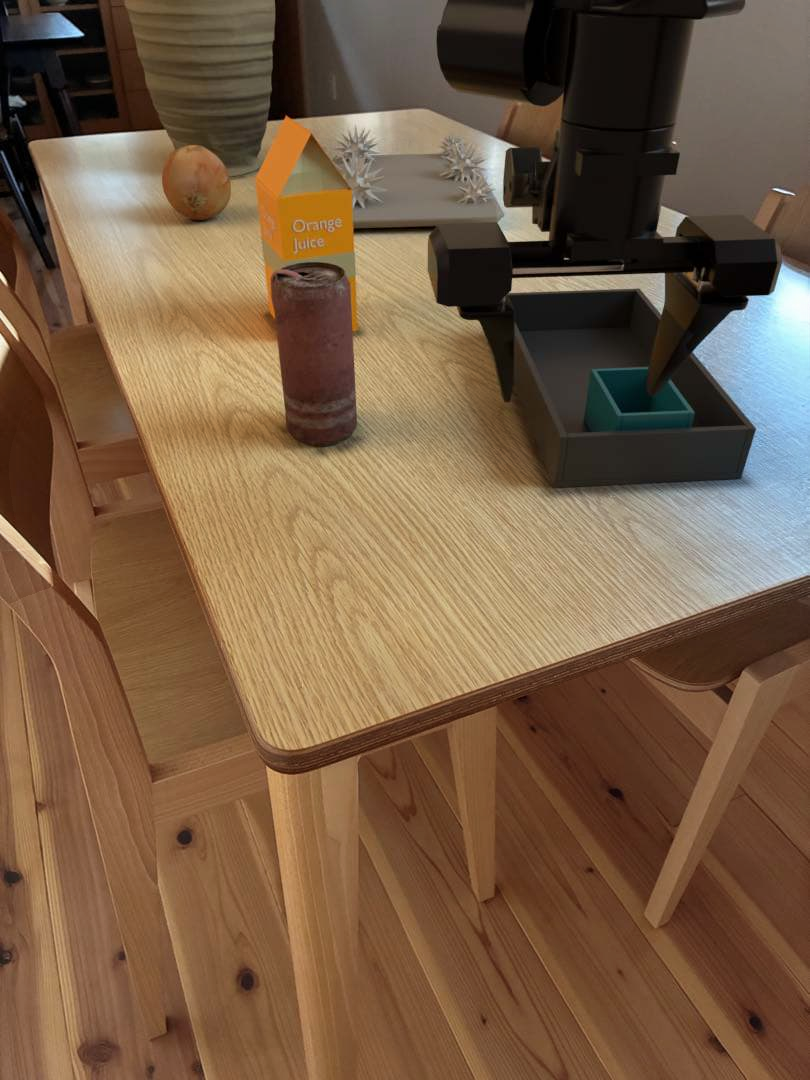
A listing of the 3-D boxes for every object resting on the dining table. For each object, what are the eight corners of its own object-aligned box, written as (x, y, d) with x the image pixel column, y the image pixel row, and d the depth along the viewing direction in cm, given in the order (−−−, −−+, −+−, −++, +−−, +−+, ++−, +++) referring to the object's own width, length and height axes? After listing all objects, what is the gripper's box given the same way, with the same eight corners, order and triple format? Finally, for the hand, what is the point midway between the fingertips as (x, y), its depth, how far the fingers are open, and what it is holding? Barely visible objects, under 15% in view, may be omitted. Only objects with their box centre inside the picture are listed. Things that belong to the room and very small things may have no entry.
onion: (231, 206, 125) (222, 135, 119) (238, 225, 117) (228, 151, 111) (167, 211, 123) (154, 140, 117) (170, 231, 115) (156, 155, 109)
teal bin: (650, 418, 71) (661, 366, 68) (681, 467, 65) (695, 412, 62) (583, 421, 71) (590, 368, 67) (608, 471, 64) (617, 415, 61)
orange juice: (290, 342, 85) (269, 135, 73) (268, 312, 92) (246, 117, 79) (359, 330, 88) (351, 128, 75) (333, 302, 94) (322, 111, 82)
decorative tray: (504, 231, 114) (509, 155, 108) (322, 236, 113) (317, 160, 107) (472, 169, 142) (474, 106, 136) (325, 173, 140) (321, 109, 134)
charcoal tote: (632, 329, 87) (639, 288, 84) (741, 478, 64) (756, 428, 62) (493, 335, 86) (496, 293, 84) (554, 487, 64) (560, 437, 61)
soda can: (289, 413, 73) (272, 258, 65) (358, 413, 73) (351, 258, 64) (280, 448, 68) (261, 286, 60) (355, 448, 68) (346, 286, 60)
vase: (153, 159, 152) (143, -34, 137) (280, 173, 153) (284, -17, 138) (113, 175, 131) (96, -51, 116) (261, 191, 132) (263, -31, 117)
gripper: (734, 87, 47) (680, 337, 57) (419, 94, 46) (418, 347, 56) (826, 127, 39) (744, 414, 48) (441, 137, 38) (435, 428, 47)
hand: (578, 396), depth 50 cm, fingers open, 9 cm apart
